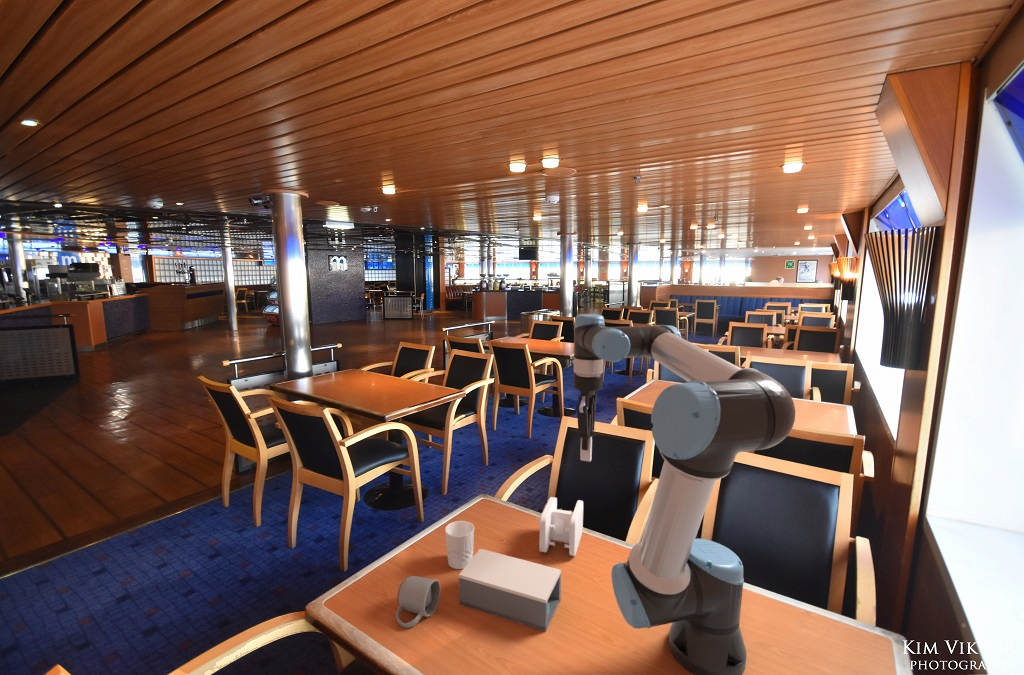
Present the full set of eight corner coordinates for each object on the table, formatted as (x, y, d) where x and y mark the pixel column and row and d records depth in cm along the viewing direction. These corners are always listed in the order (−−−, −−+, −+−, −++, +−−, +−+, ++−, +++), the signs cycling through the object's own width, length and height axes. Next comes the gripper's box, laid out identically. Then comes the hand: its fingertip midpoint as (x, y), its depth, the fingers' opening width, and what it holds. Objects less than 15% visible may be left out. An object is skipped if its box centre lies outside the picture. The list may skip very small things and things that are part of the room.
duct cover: (561, 572, 115) (561, 569, 114) (546, 603, 105) (546, 600, 104) (480, 551, 123) (480, 548, 123) (459, 577, 113) (458, 574, 113)
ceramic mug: (412, 594, 118) (410, 566, 116) (441, 602, 115) (440, 573, 114) (387, 625, 108) (385, 595, 107) (419, 634, 105) (417, 603, 104)
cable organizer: (574, 563, 130) (575, 523, 128) (537, 556, 133) (537, 517, 132) (583, 534, 144) (584, 498, 143) (549, 528, 147) (549, 493, 146)
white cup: (470, 572, 126) (469, 537, 125) (442, 569, 127) (441, 534, 126) (477, 555, 134) (477, 522, 132) (450, 552, 135) (450, 519, 134)
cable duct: (560, 600, 116) (561, 574, 115) (545, 631, 106) (546, 603, 105) (480, 576, 124) (480, 552, 123) (459, 604, 114) (459, 577, 113)
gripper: (580, 367, 131) (578, 449, 134) (566, 377, 119) (565, 466, 122) (607, 370, 128) (605, 453, 131) (596, 380, 116) (593, 471, 119)
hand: (585, 459), depth 127 cm, fingers closed
